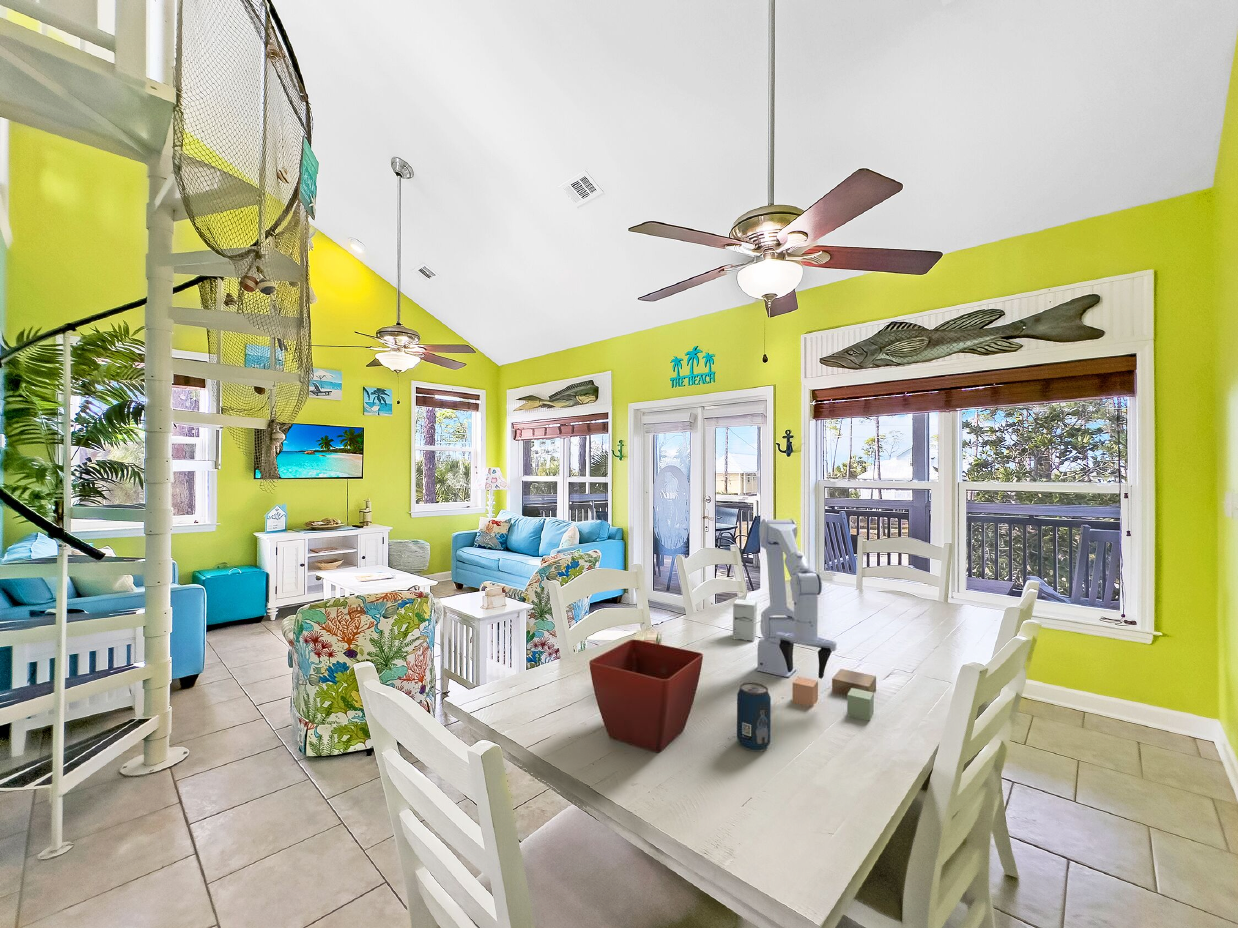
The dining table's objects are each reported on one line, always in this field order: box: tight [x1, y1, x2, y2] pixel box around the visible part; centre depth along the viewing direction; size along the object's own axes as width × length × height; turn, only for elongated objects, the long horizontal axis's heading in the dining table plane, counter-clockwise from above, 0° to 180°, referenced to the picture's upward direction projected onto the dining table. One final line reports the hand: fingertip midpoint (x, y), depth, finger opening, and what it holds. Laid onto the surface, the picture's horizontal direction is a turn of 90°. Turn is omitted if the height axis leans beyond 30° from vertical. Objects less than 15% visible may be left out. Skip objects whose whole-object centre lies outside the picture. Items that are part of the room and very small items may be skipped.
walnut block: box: [831, 668, 877, 697], centre depth 144 cm, size 9×9×4 cm
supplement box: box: [732, 598, 758, 642], centre depth 191 cm, size 7×7×13 cm
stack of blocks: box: [633, 629, 663, 645], centre depth 155 cm, size 21×6×12 cm, turn 170°
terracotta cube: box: [791, 676, 819, 708], centre depth 138 cm, size 5×5×5 cm
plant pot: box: [588, 638, 704, 753], centre depth 120 cm, size 19×19×17 cm
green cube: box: [846, 688, 875, 721], centre depth 131 cm, size 5×5×5 cm
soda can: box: [736, 682, 772, 752], centre depth 115 cm, size 7×7×12 cm
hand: (805, 674), depth 138 cm, fingers open, 7 cm apart
